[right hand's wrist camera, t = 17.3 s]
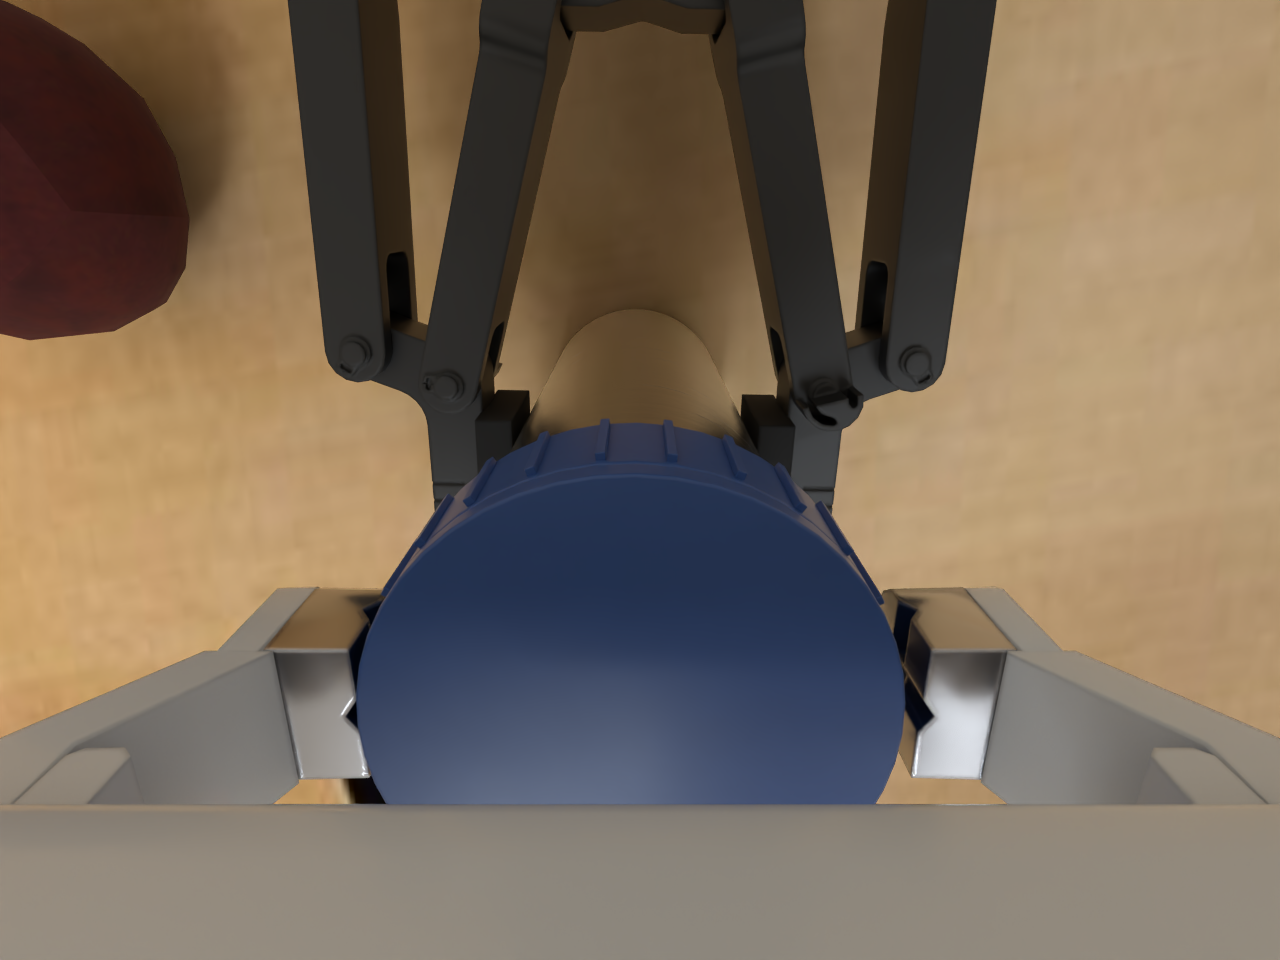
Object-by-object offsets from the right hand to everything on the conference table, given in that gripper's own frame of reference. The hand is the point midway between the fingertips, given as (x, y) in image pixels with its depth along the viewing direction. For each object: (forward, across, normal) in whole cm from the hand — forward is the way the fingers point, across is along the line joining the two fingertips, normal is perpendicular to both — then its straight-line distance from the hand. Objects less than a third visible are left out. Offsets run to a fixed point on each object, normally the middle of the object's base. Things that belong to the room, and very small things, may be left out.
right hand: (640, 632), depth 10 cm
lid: (-2, 0, 0) cm, 2 cm away
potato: (+14, -15, +6) cm, 21 cm away
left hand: (+7, 0, -5) cm, 9 cm away
